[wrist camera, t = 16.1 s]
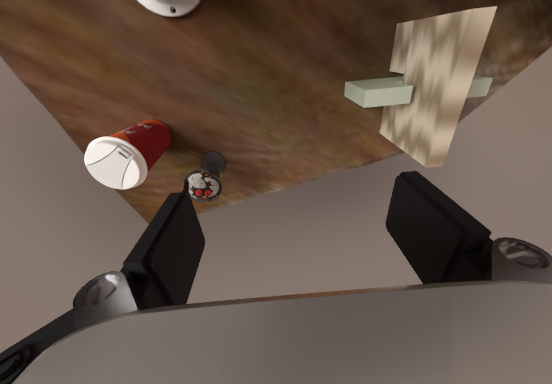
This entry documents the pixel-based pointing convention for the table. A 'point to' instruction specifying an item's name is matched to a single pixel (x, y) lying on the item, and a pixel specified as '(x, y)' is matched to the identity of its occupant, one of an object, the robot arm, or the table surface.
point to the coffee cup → (127, 154)
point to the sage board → (398, 91)
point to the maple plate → (434, 80)
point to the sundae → (205, 179)
